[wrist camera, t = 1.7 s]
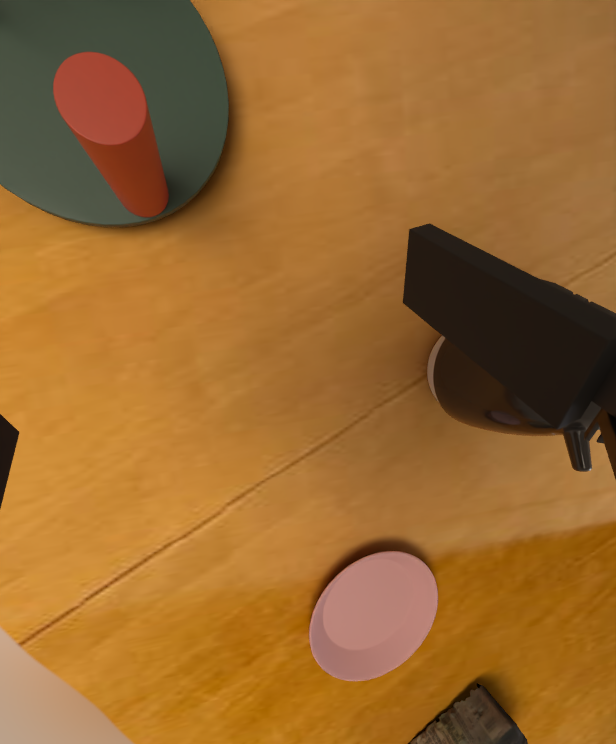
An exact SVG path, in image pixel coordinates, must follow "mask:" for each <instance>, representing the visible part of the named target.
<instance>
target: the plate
mask: <svg viewBox="0 0 616 744" xmlns="http://www.w3.org/2000/svg"><path fill="white" fill-rule="evenodd" d="M437 604H438V591H437V585H436V581H435V578H434V576H433V574H432V572H431V571H430V569H429V568H428V566H427V565H426V564H425V563H424V562H423V561H421V560H420V559H419V558H417V557H415V556H413V555H411V554H408V553H405V552H400V551H384V552H378V553H374V554H371V555H368V556H365V557H363V558H361V559H359V560H357V561H355V562H354V563H352V564H350V565H349V566H348V567H346V568H345V569H344V570H342V571H341V572H340V573H339V574H338V575H337V576H336V577H335V578H334V579H333V580H332V581H331V582H330V583H329V584H328V586H327V587H326V588H325V590H324V591H323V593H322V594H321V596H320V598H319V600H318V601H317V604H316V606H315V608H314V611H313V614H312V617H311V622H310V628H309V641H310V647H311V651H312V654H313V656H314V658H315V660H316V661H317V663H318V664H319V666H320V667H321V668H322V669H323V670H324V671H326V672H327V673H328V674H330V675H332V676H334V677H336V678H339V679H342V680H347V681H363V680H369V679H373V678H376V677H379V676H381V675H384V674H386V673H388V672H390V671H392V670H393V669H395V668H397V667H398V666H399V665H401V664H402V663H403V662H405V661H406V660H407V659H408V658H409V657H410V656H411V655H412V654H413V653H414V652H415V651H416V650H417V649H418V647H419V646H420V645H421V644H422V642H423V641H424V639H425V638H426V636H427V634H428V632H429V630H430V628H431V626H432V624H433V621H434V618H435V615H436V611H437Z"/></svg>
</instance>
